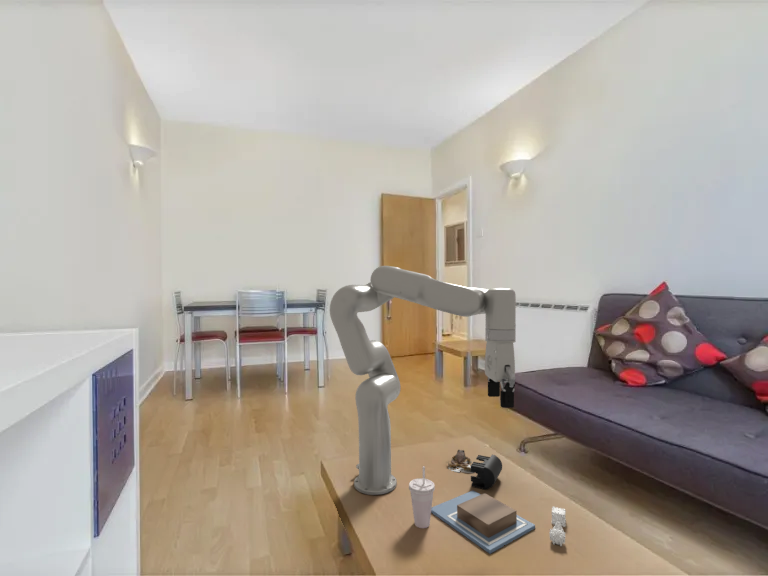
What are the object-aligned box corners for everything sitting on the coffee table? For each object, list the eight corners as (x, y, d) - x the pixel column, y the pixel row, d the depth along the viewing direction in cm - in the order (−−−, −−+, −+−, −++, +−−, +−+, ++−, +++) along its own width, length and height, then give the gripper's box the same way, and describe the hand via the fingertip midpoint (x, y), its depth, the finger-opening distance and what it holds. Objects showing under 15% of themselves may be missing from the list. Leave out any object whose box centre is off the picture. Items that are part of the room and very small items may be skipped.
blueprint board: (429, 511, 101) (429, 507, 101) (473, 493, 110) (473, 489, 110) (489, 553, 85) (489, 549, 85) (535, 528, 94) (535, 524, 94)
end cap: (495, 493, 110) (494, 469, 110) (470, 487, 114) (470, 464, 114) (502, 478, 119) (502, 456, 119) (479, 473, 122) (479, 451, 122)
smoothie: (434, 533, 92) (433, 473, 92) (407, 530, 94) (406, 471, 94) (436, 517, 99) (435, 461, 99) (410, 515, 100) (410, 460, 100)
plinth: (457, 517, 97) (457, 505, 97) (484, 504, 103) (484, 493, 103) (488, 538, 89) (488, 524, 89) (516, 523, 94) (516, 510, 94)
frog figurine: (443, 457, 135) (443, 446, 135) (478, 460, 133) (478, 448, 133) (441, 472, 124) (441, 460, 124) (480, 475, 121) (479, 463, 121)
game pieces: (551, 518, 98) (551, 505, 98) (566, 522, 97) (566, 509, 97) (549, 546, 87) (548, 531, 87) (565, 550, 86) (565, 535, 86)
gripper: (476, 332, 110) (476, 392, 110) (497, 340, 92) (497, 412, 92) (502, 332, 110) (502, 392, 110) (528, 339, 93) (528, 411, 93)
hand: (500, 401), depth 101 cm, fingers open, 9 cm apart
